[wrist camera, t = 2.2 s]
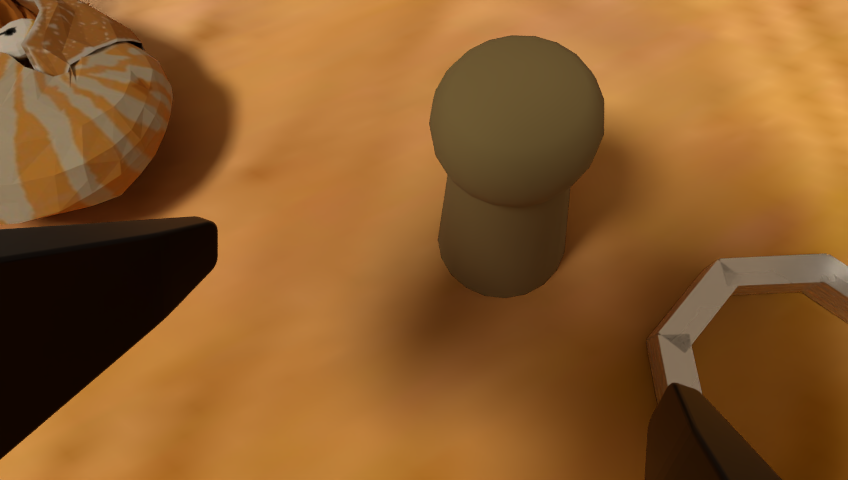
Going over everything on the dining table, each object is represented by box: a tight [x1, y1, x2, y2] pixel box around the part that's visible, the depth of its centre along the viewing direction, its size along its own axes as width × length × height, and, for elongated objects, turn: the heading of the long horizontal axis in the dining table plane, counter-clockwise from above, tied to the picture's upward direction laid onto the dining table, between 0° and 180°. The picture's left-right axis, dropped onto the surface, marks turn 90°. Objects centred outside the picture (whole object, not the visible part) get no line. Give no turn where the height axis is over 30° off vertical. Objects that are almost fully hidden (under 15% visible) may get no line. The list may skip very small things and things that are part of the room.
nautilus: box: [0, 0, 173, 225], centre depth 26 cm, size 8×22×15 cm
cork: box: [429, 36, 604, 298], centre depth 18 cm, size 6×6×11 cm
